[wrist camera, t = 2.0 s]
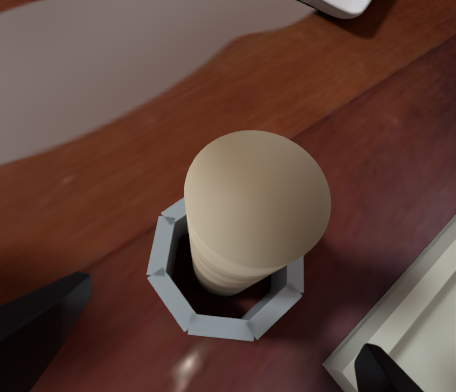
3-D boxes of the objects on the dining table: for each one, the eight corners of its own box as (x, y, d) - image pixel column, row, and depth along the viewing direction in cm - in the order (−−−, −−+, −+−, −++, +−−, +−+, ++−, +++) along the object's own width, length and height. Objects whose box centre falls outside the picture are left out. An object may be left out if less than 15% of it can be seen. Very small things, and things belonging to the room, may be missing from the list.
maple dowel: (219, 310, 19) (252, 303, 7) (181, 259, 20) (154, 177, 8) (266, 269, 20) (360, 204, 8) (228, 223, 21) (263, 109, 10)
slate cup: (213, 365, 18) (216, 379, 14) (135, 254, 20) (120, 240, 16) (309, 274, 20) (333, 265, 17) (232, 185, 23) (238, 160, 19)
